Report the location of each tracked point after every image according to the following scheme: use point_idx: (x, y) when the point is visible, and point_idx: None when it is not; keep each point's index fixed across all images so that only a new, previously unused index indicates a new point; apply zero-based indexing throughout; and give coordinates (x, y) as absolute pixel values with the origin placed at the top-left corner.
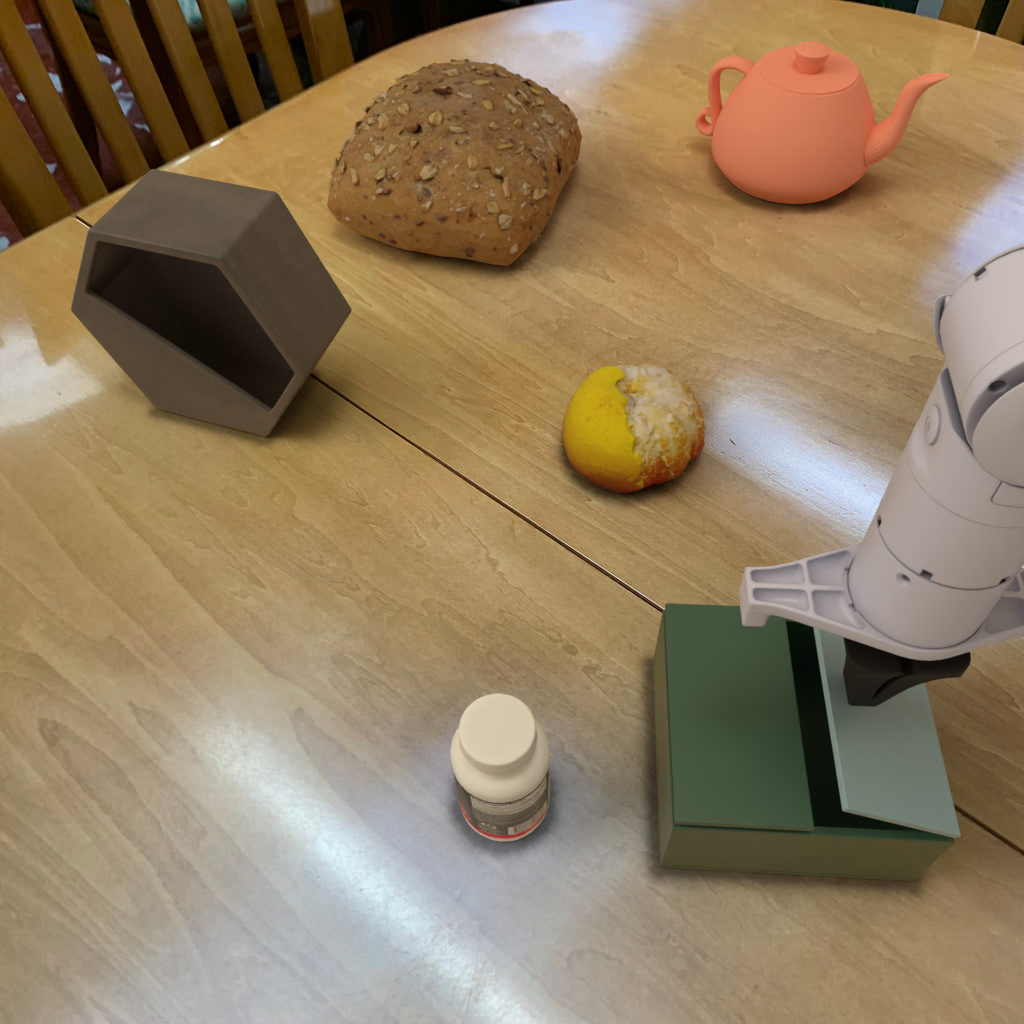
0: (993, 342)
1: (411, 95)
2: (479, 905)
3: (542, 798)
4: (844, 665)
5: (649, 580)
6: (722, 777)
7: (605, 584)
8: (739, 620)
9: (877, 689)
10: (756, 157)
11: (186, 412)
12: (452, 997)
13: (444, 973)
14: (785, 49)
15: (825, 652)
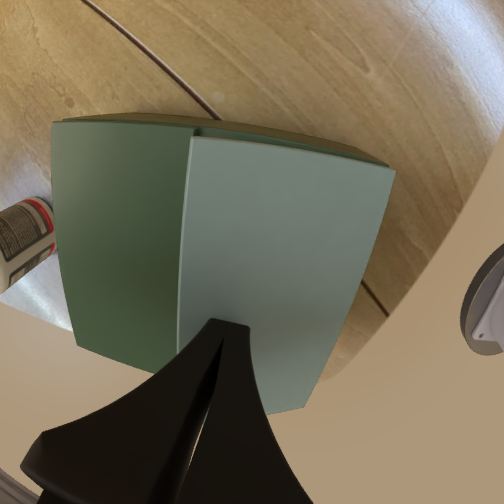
0: None
1: None
2: (43, 282)
3: (30, 266)
4: (204, 325)
5: (144, 20)
6: (104, 328)
7: (104, 30)
8: (127, 147)
9: (197, 436)
10: None
11: None
12: (45, 316)
13: (40, 306)
14: None
15: (186, 289)
